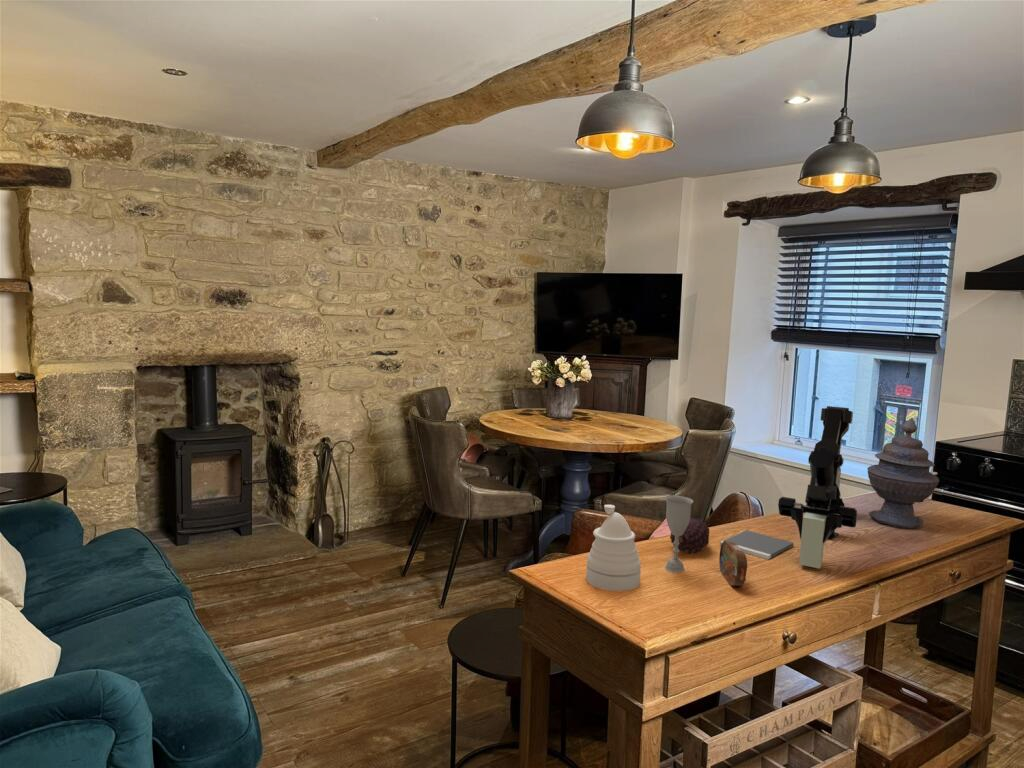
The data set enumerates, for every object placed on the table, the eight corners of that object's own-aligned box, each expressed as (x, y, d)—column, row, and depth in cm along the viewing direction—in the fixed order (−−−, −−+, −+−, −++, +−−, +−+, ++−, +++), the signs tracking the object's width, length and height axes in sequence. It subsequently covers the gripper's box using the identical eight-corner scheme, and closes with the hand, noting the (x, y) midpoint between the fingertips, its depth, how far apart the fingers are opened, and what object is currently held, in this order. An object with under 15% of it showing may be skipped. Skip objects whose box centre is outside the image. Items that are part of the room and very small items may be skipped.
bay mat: (746, 533, 208) (746, 530, 208) (793, 546, 199) (793, 542, 198) (719, 545, 197) (719, 542, 197) (767, 559, 187) (768, 555, 187)
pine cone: (682, 537, 203) (703, 511, 200) (706, 562, 197) (729, 536, 194) (652, 534, 190) (675, 506, 187) (677, 561, 184) (701, 533, 181)
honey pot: (575, 580, 169) (578, 507, 167) (604, 566, 179) (608, 497, 177) (621, 596, 161) (626, 519, 159) (649, 580, 171) (653, 508, 169)
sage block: (801, 558, 186) (805, 512, 184) (822, 562, 183) (826, 515, 182) (799, 564, 181) (803, 517, 180) (820, 568, 179) (824, 520, 177)
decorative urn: (844, 512, 230) (864, 409, 225) (889, 512, 237) (909, 412, 233) (897, 535, 212) (920, 423, 207) (943, 534, 219) (966, 425, 214)
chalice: (655, 565, 180) (659, 496, 178) (677, 562, 183) (681, 494, 181) (672, 575, 174) (676, 504, 172) (694, 572, 176) (699, 502, 174)
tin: (717, 567, 180) (719, 535, 180) (729, 568, 180) (732, 536, 179) (733, 591, 166) (736, 557, 165) (747, 592, 165) (750, 557, 164)
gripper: (782, 467, 187) (771, 517, 179) (860, 477, 178) (852, 531, 170) (784, 489, 195) (774, 538, 187) (859, 500, 186) (852, 553, 178)
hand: (812, 540), depth 180 cm, fingers closed on sage block, 5 cm apart
